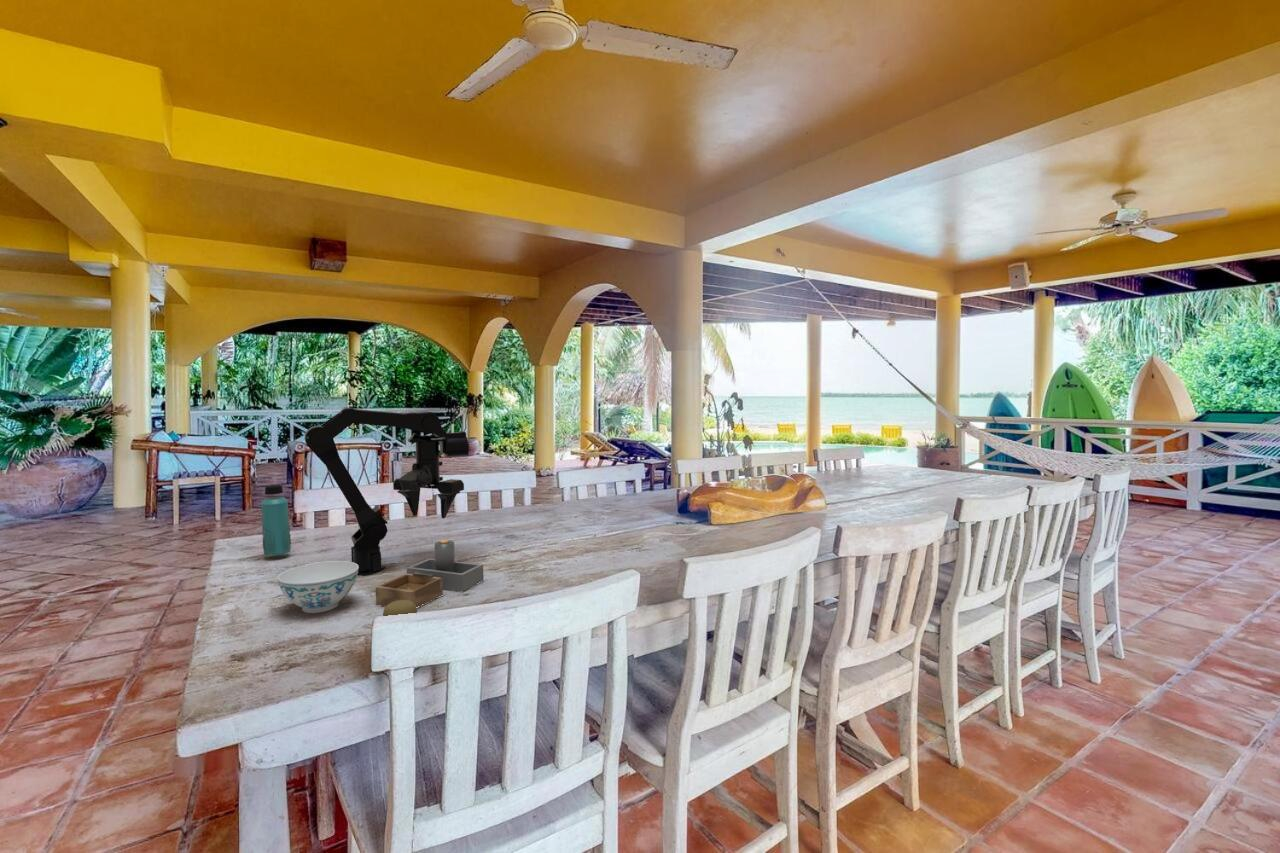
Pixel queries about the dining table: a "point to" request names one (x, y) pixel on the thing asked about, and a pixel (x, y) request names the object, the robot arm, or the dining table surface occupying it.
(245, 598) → the dining table surface
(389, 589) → the frame
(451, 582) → the trough
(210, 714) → the dining table surface
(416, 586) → the plate
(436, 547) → the battery cell
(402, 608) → the cork
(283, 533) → the beverage bottle
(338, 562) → the chinaware
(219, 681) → the dining table surface
